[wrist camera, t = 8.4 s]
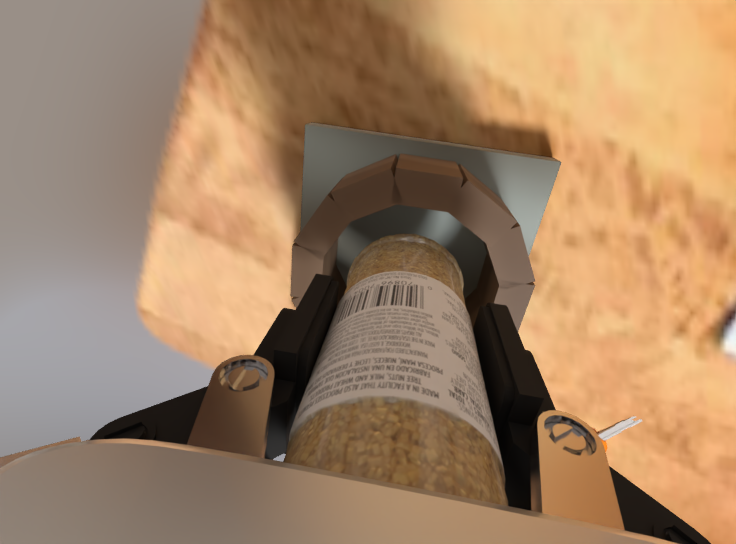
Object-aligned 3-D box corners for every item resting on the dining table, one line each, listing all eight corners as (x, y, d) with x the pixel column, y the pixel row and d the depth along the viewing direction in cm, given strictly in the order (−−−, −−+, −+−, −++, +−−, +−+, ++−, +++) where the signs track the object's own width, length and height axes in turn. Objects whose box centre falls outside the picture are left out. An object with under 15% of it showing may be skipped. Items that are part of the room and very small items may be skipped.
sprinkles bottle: (350, 327, 16) (155, 1008, 4) (346, 226, 14) (-45, 965, 2) (459, 334, 16) (588, 1131, 4) (471, 230, 14) (828, 1221, 2)
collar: (311, 122, 16) (280, 132, 12) (553, 157, 15) (593, 179, 12) (301, 319, 20) (275, 369, 17) (487, 352, 20) (502, 411, 16)
